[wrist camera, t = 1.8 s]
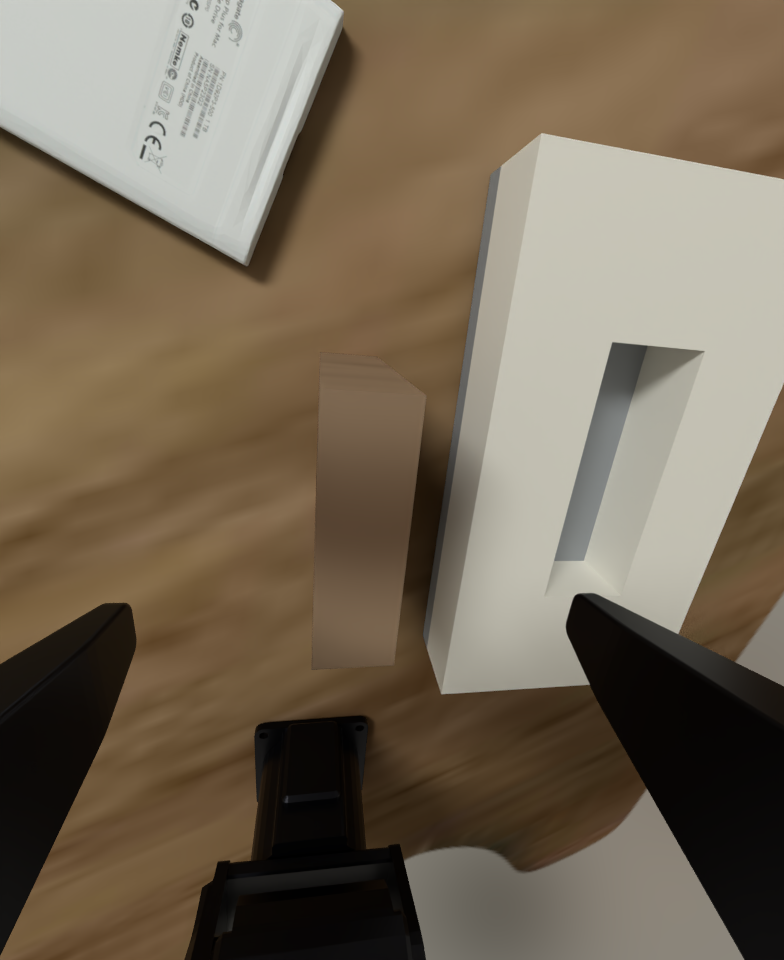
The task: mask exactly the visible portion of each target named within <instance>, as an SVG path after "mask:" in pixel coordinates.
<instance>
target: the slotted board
mask: <svg viewBox="0 0 784 960" xmlns="http://www.w3.org/2000/svg"><path fill="white" fill-rule="evenodd" d="M783 383H784V179H779V178H773V177H768V176H763V175H758V174H752V173H747V172H742V171H737V170H731V169H726V168H721V167H716V166H710V165H705V164H700V163H695V162H690V161H684V160H679V159H674V158H669V157H663V156H658V155H653V154H648V153H642V152H637V151H632V150H627V149H621V148H616V147H611V146H606V145H600V144H595V143H590V142H585V141H579V140H574V139H569V138H564V137H558V136H553V135H548V134H543V133H541V134H540V135H539V136H538V137H536V138H535V139H534V140H533V141H531V142H530V143H529V144H528V145H526V146H525V147H524V148H523V149H522V150H520V151H519V152H518V153H517V154H515V155H514V156H513V157H512V158H510V159H509V160H508V161H507V162H506V163H504V164H503V165H502V166H501V167H499V168H498V169H497V170H496V171H494V172H493V173H492V174H491V177H490V183H489V190H488V197H487V204H486V210H485V217H484V224H483V231H482V238H481V244H480V251H479V258H478V265H477V271H476V278H475V285H474V292H473V299H472V305H471V312H470V319H469V326H468V332H467V339H466V346H465V353H464V360H463V366H462V373H461V380H460V387H459V393H458V400H457V407H456V414H455V420H454V427H453V434H452V441H451V448H450V454H449V461H448V468H447V475H446V481H445V488H444V495H443V502H442V509H441V515H440V522H439V529H438V536H437V542H436V549H435V556H434V563H433V570H432V576H431V583H430V590H429V597H428V603H427V610H426V617H425V624H424V631H423V638H424V641H425V644H426V647H427V650H428V654H429V657H430V660H431V663H432V666H433V669H434V673H435V676H436V679H437V682H438V685H439V689H440V692H441V694H454V693H469V692H484V691H500V690H515V689H531V688H546V687H561V686H577V685H590V684H589V682H588V680H587V678H586V675H585V673H584V671H583V669H582V667H581V664H580V662H579V660H578V658H577V656H576V653H575V651H574V649H573V647H572V645H571V642H570V640H569V638H568V636H567V632H566V620H567V617H568V614H569V610H570V607H571V603H572V600H573V598H574V596H575V595H576V594H578V593H595V594H598V595H600V596H602V597H604V598H606V599H608V600H610V601H612V602H614V603H616V604H618V605H620V606H622V607H624V608H626V609H628V610H630V611H632V612H634V613H636V614H638V615H640V616H642V617H644V618H646V619H648V620H650V621H652V622H654V623H656V624H659V625H661V626H663V627H665V628H667V629H669V630H671V631H673V632H675V633H677V634H678V633H679V631H680V628H681V626H682V624H683V621H684V619H685V616H686V614H687V612H688V609H689V607H690V605H691V602H692V600H693V597H694V595H695V593H696V590H697V588H698V586H699V583H700V581H701V578H702V576H703V574H704V571H705V569H706V566H707V564H708V562H709V559H710V557H711V555H712V552H713V550H714V547H715V545H716V543H717V540H718V538H719V536H720V533H721V531H722V528H723V526H724V524H725V521H726V519H727V517H728V514H729V512H730V509H731V507H732V505H733V502H734V500H735V498H736V495H737V493H738V490H739V488H740V486H741V483H742V481H743V478H744V476H745V474H746V471H747V469H748V467H749V464H750V462H751V459H752V457H753V455H754V452H755V450H756V448H757V445H758V443H759V440H760V438H761V436H762V433H763V431H764V429H765V426H766V424H767V421H768V419H769V417H770V414H771V412H772V409H773V407H774V405H775V402H776V400H777V398H778V395H779V393H780V390H781V388H782V386H783Z"/></svg>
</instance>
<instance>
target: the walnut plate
mask: <svg viewBox="0 0 784 960" xmlns="http://www.w3.org/2000/svg"><path fill="white" fill-rule="evenodd" d="M425 404H426V395H425V394H424V393H423V392H421V391H420V390H419V389H417V388H416V387H415V386H414V385H412V384H411V383H410V382H409V381H407V380H406V379H405V378H404V377H402V376H401V375H400V374H398V373H397V372H396V371H395V370H393V369H392V368H391V367H390V366H388V365H387V364H386V363H385V362H383V361H382V360H381V359H380V358H378V357H375V356H363V355H350V354H338V353H326V352H320V369H319V404H318V439H317V474H316V508H315V548H314V591H313V634H312V670H318V669H337V668H356V667H375V666H393V665H394V661H395V653H396V644H397V636H398V628H399V619H400V611H401V603H402V595H403V586H404V578H405V570H406V562H407V553H408V545H409V537H410V528H411V520H412V512H413V504H414V495H415V487H416V479H417V471H418V462H419V454H420V446H421V437H422V429H423V421H424V413H425Z"/></svg>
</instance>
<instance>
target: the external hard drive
mask: <svg viewBox="0 0 784 960" xmlns="http://www.w3.org/2000/svg"><path fill="white" fill-rule="evenodd" d="M343 16H344V12H343V10H342V9H340V8H339V7H338V6H337V5H336V4H335V3H334V2H332V1H331V0H0V127H1V128H2V129H4V130H6V131H8V132H9V133H11V134H13V135H15V136H17V137H18V138H20V139H22V140H24V141H25V142H27V143H29V144H31V145H32V146H34V147H36V148H38V149H40V150H42V151H43V152H45V153H47V154H49V155H51V156H52V157H54V158H56V159H58V160H59V161H61V162H63V163H65V164H66V165H68V166H70V167H72V168H73V169H75V170H77V171H79V172H80V173H82V174H84V175H86V176H87V177H89V178H91V179H93V180H94V181H96V182H98V183H100V184H102V185H103V186H105V187H107V188H109V189H110V190H112V191H114V192H116V193H118V194H119V195H121V196H123V197H124V198H126V199H128V200H130V201H132V202H133V203H135V204H137V205H139V206H140V207H142V208H144V209H146V210H148V211H149V212H151V213H153V214H155V215H157V216H158V217H160V218H162V219H164V220H165V221H167V222H169V223H171V224H172V225H174V226H176V227H178V228H179V229H181V230H183V231H185V232H187V233H188V234H190V235H192V236H194V237H195V238H197V239H199V240H201V241H203V242H204V243H206V244H208V245H210V246H212V247H213V248H215V249H217V250H219V251H220V252H222V253H223V254H225V255H227V256H229V257H231V258H232V259H234V260H236V261H238V262H239V263H241V264H243V265H245V266H248V265H249V262H250V260H251V257H252V254H253V252H254V249H255V247H256V244H257V242H258V239H259V237H260V234H261V232H262V229H263V227H264V224H265V221H266V219H267V216H268V214H269V211H270V209H271V206H272V204H273V201H274V199H275V196H276V194H277V191H278V189H279V186H280V184H281V181H282V178H283V172H284V169H285V167H286V164H287V161H288V159H289V156H290V154H291V151H292V149H293V147H294V144H295V141H296V139H297V136H298V134H299V133H300V132H301V131H302V128H303V126H304V123H305V121H306V118H307V116H308V113H309V111H310V108H311V106H312V103H313V101H314V98H315V96H316V93H317V91H318V88H319V86H320V83H321V81H322V78H323V76H324V73H325V71H326V68H327V66H328V63H329V61H330V58H331V56H332V53H333V51H334V48H335V46H336V43H337V41H338V38H339V36H340V33H341V31H342V27H343Z"/></svg>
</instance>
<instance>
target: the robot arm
mask: <svg viewBox="0 0 784 960" xmlns="http://www.w3.org/2000/svg"><path fill="white" fill-rule="evenodd" d="M566 632H567V636H568V638H569V640H570V642H571V645H572V647H573V649H574V651H575V653H576V656H577V658H578V660H579V662H580V664H581V667H582V669H583V671H584V673H585V675H586V678H587V680H588V682H589V684H590V686H591V689H592V691H593V693H594V695H595V697H596V699H597V701H598V703H599V705H600V706H601V708H602V710H603V712H604V714H605V715H606V717H607V719H608V721H609V722H610V724H611V726H612V728H613V729H614V731H615V733H616V735H617V737H618V738H619V740H620V742H621V744H622V745H623V747H624V749H625V751H626V752H627V754H628V756H629V758H630V759H631V761H632V763H633V765H634V766H635V768H636V770H637V772H638V773H639V775H640V777H641V779H642V780H643V782H644V784H645V786H646V788H647V789H648V791H649V793H650V794H651V796H652V798H653V800H654V801H655V803H656V805H657V807H658V808H659V810H660V812H661V814H662V816H663V817H664V819H665V821H666V823H667V824H668V826H669V828H670V830H671V831H672V833H673V835H674V837H675V838H676V840H677V842H678V844H679V845H680V847H681V849H682V851H683V853H684V854H685V856H686V858H687V860H688V861H689V863H690V865H691V867H692V868H693V870H694V872H695V874H696V875H697V877H698V879H699V881H700V882H701V884H702V886H703V888H704V889H705V891H706V893H707V895H708V896H709V898H710V900H711V902H712V903H713V905H714V907H715V909H716V911H717V912H718V914H719V916H720V918H721V919H722V921H723V923H724V925H725V926H726V928H727V930H728V932H729V933H730V935H731V937H732V939H733V940H734V942H735V944H736V946H737V947H738V949H739V951H740V953H741V954H742V956H743V958H744V960H784V686H782V685H780V684H778V683H776V682H774V681H772V680H770V679H768V678H766V677H764V676H762V675H760V674H758V673H756V672H754V671H751V670H749V669H747V668H745V667H743V666H741V665H739V664H737V663H735V662H733V661H731V660H729V659H727V658H725V657H723V656H721V655H719V654H717V653H715V652H713V651H711V650H709V649H707V648H705V647H703V646H701V645H699V644H697V643H695V642H693V641H691V640H689V639H687V638H685V637H683V636H681V635H679V634H677V633H675V632H673V631H671V630H669V629H667V628H665V627H663V626H661V625H659V624H656V623H654V622H652V621H650V620H648V619H646V618H644V617H642V616H640V615H638V614H636V613H634V612H632V611H630V610H628V609H626V608H624V607H622V606H620V605H618V604H616V603H614V602H612V601H610V600H608V599H606V598H604V597H602V596H600V595H598V594H595V593H578V594H576V595H575V596H574V598H573V600H572V603H571V607H570V610H569V614H568V617H567V620H566ZM135 648H136V633H135V627H134V620H133V614H132V609H131V607H130V605H129V604H127V603H105V604H102V605H100V606H98V607H97V608H95V609H93V610H91V611H90V612H88V613H86V614H85V615H83V616H81V617H79V618H78V619H76V620H74V621H73V622H71V623H69V624H68V625H66V626H64V627H62V628H61V629H59V630H57V631H56V632H54V633H52V634H51V635H49V636H47V637H45V638H44V639H42V640H40V641H39V642H37V643H35V644H34V645H32V646H30V647H28V648H27V649H25V650H23V651H22V652H20V653H18V654H17V655H15V656H13V657H11V658H10V659H8V660H6V661H5V662H3V663H1V664H0V955H1V953H2V951H3V949H4V947H5V945H6V942H7V940H8V938H9V936H10V934H11V932H12V930H13V928H14V926H15V924H16V921H17V919H18V917H19V915H20V913H21V911H22V909H23V907H24V905H25V903H26V900H27V898H28V896H29V894H30V892H31V890H32V888H33V886H34V884H35V882H36V880H37V877H38V875H39V873H40V871H41V869H42V867H43V865H44V863H45V861H46V859H47V856H48V854H49V852H50V850H51V848H52V846H53V844H54V842H55V840H56V838H57V835H58V833H59V831H60V829H61V827H62V825H63V823H64V821H65V819H66V817H67V814H68V812H69V810H70V808H71V806H72V804H73V802H74V800H75V798H76V796H77V794H78V791H79V789H80V787H81V785H82V783H83V781H84V779H85V777H86V775H87V773H88V770H89V768H90V766H91V764H92V762H93V760H94V758H95V756H96V754H97V752H98V749H99V747H100V745H101V743H102V740H103V738H104V736H105V733H106V731H107V728H108V726H109V723H110V720H111V717H112V715H113V712H114V709H115V706H116V703H117V701H118V698H119V695H120V692H121V689H122V686H123V684H124V681H125V678H126V675H127V672H128V669H129V667H130V664H131V661H132V658H133V655H134V652H135ZM367 733H368V723H367V719H366V718H365V717H363V716H356V717H342V718H329V719H315V720H301V721H287V722H273V723H263V724H260V725H258V726H257V727H256V730H255V736H254V738H255V765H256V792H257V802H258V808H257V816H256V824H255V831H254V839H253V847H252V855H251V861H244V862H234V863H230V860H229V861H218V863H217V867H216V872H215V876H214V879H213V881H211V882H210V883H208V884H207V885H205V886H204V887H202V891H201V896H200V901H199V906H198V911H197V915H196V920H195V925H194V929H193V933H192V937H191V940H190V944H189V947H188V950H187V953H186V957H185V960H426V958H425V951H424V945H423V940H422V935H421V930H420V926H419V922H418V918H417V914H416V910H415V905H414V901H413V897H412V893H411V889H410V885H409V881H408V877H407V872H406V868H405V864H404V860H403V856H402V852H401V848H400V844H393V845H389V846H388V847H386V848H376V849H366V842H365V830H364V818H363V806H362V794H361V790H362V783H363V773H364V763H365V753H366V743H367Z"/></svg>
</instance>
